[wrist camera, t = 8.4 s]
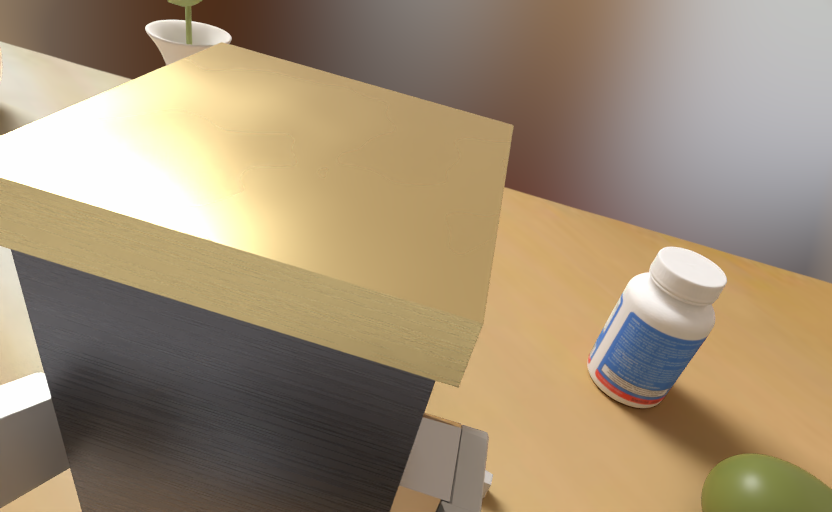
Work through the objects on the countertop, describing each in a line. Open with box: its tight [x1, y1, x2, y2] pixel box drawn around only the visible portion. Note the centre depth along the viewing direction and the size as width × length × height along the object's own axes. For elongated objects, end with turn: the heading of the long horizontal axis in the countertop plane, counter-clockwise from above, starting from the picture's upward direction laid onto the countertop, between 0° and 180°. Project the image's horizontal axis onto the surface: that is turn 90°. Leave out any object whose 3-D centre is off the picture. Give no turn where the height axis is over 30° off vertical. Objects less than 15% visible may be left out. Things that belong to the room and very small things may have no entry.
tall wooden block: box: [0, 42, 513, 512], centre depth 10 cm, size 5×5×12 cm
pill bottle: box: [587, 247, 727, 408], centre depth 34 cm, size 6×5×10 cm
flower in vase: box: [145, 0, 232, 65], centre depth 35 cm, size 13×11×25 cm
